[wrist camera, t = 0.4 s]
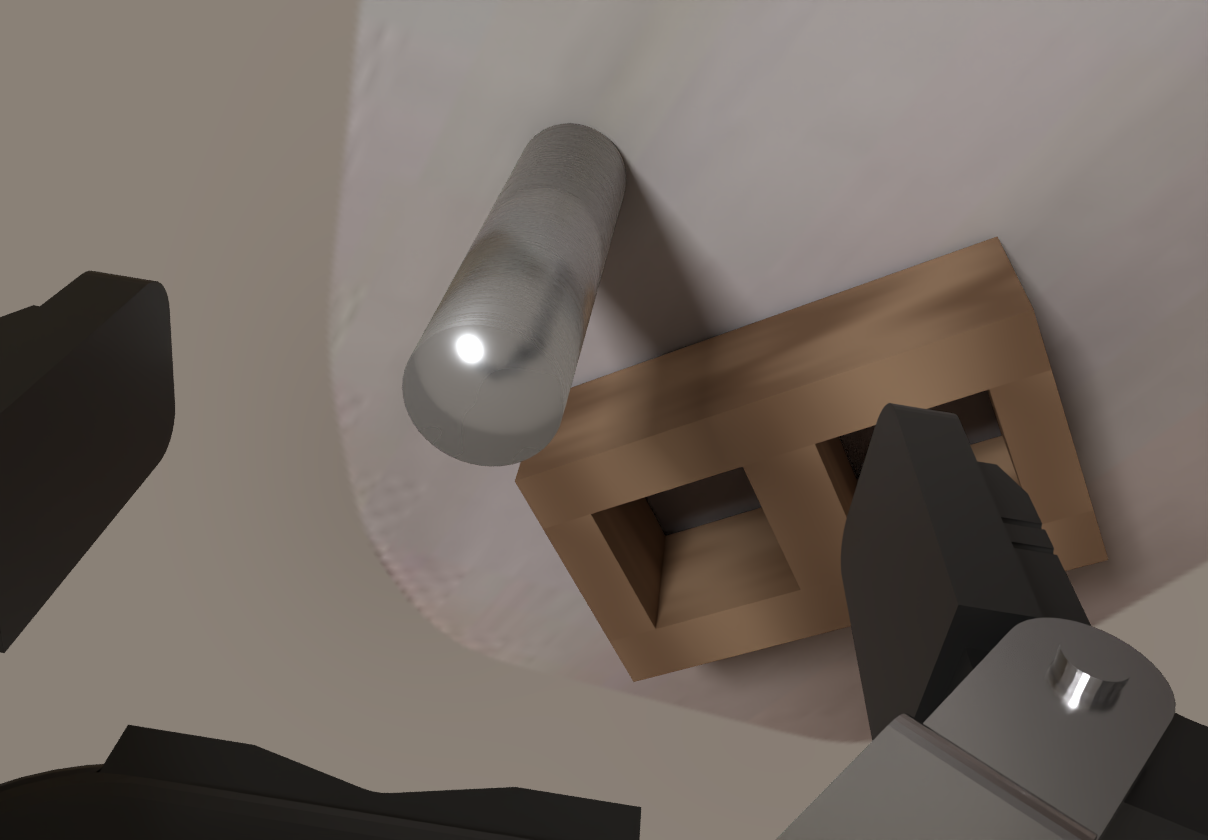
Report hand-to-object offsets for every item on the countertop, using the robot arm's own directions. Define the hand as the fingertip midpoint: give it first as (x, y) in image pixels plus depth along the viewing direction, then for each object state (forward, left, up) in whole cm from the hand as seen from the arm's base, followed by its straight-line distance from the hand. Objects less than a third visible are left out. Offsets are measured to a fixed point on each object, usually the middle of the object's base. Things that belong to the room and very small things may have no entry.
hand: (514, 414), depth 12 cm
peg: (+3, +3, -19) cm, 19 cm away
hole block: (0, +13, -19) cm, 23 cm away
